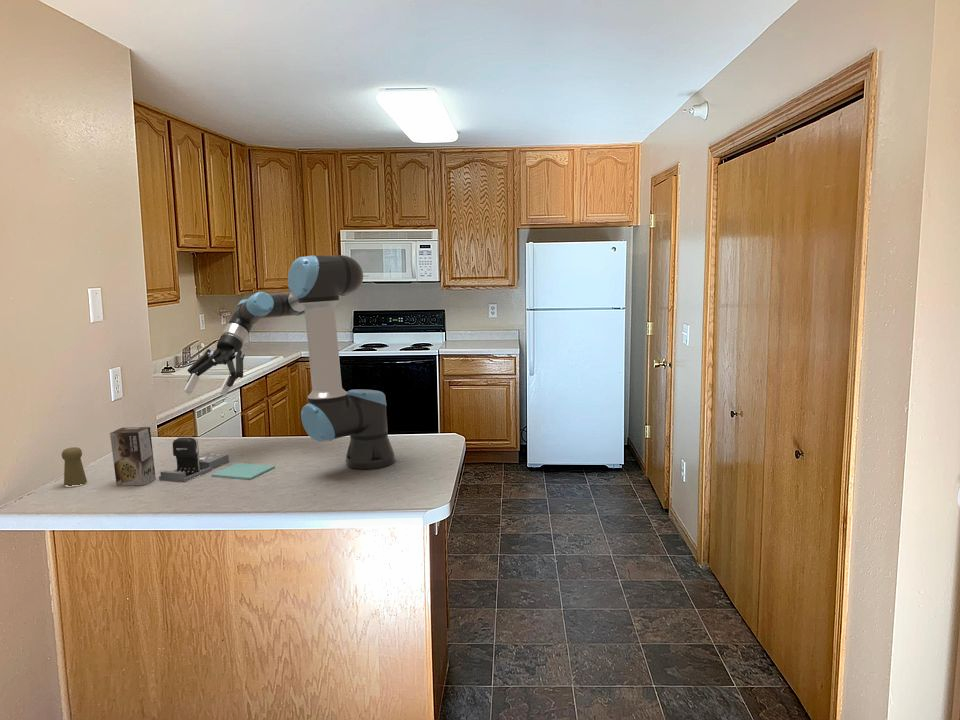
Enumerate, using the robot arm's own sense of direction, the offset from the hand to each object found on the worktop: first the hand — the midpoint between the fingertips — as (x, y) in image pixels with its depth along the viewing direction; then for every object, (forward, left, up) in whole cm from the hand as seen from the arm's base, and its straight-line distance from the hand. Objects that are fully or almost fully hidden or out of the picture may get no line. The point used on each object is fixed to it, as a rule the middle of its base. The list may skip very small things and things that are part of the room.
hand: (204, 393), depth 217 cm
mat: (-16, +5, -23) cm, 29 cm away
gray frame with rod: (+4, +7, -23) cm, 25 cm away
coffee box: (+10, +21, -23) cm, 33 cm away
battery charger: (0, +11, -23) cm, 26 cm away
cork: (+27, +27, -23) cm, 44 cm away
